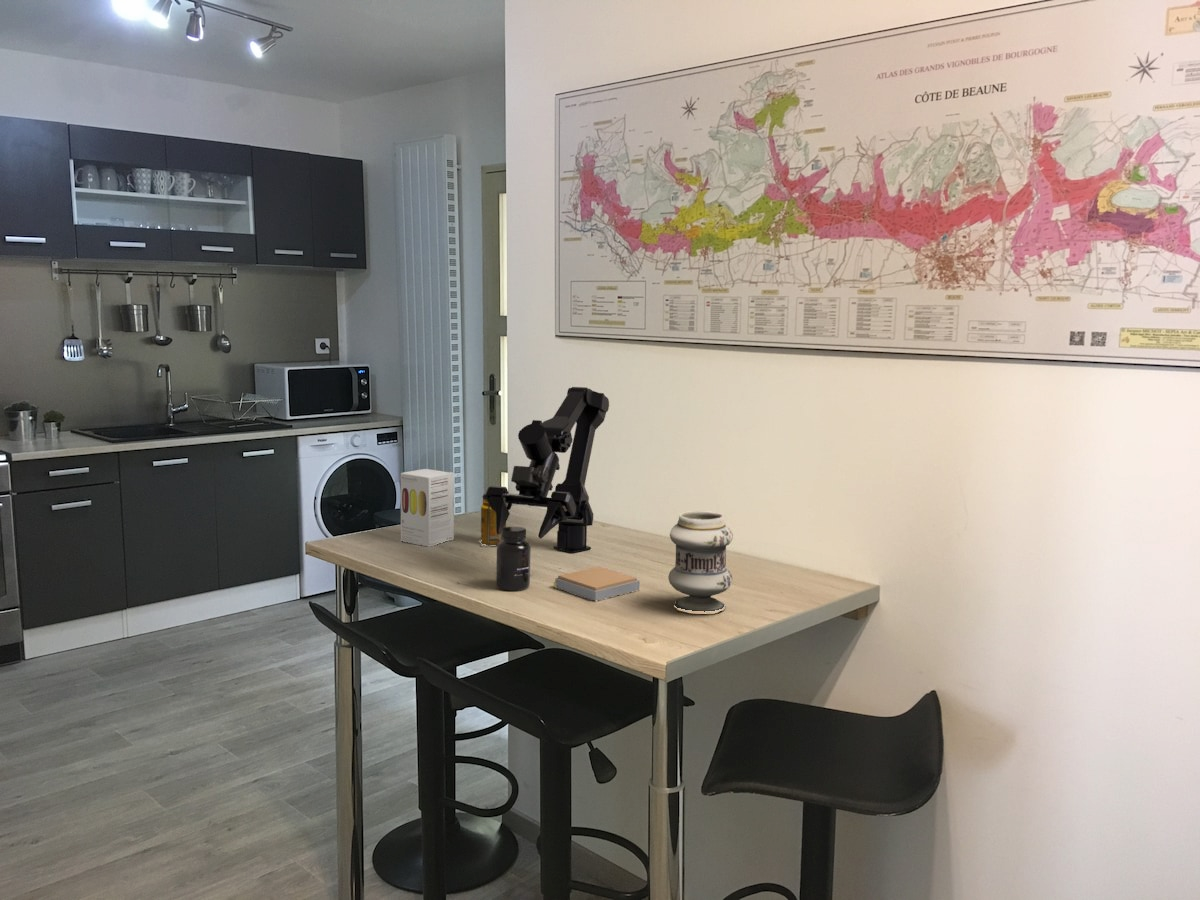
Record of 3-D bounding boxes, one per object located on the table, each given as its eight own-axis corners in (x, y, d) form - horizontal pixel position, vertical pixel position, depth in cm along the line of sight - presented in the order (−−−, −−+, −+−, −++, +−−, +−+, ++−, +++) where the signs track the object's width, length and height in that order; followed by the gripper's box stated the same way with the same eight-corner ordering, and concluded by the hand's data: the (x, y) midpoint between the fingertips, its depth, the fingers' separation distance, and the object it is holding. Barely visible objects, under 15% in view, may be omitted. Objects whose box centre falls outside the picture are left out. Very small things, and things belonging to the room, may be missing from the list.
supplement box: (399, 541, 225) (398, 472, 222) (425, 534, 232) (425, 467, 230) (429, 547, 220) (429, 476, 217) (455, 540, 227) (455, 471, 225)
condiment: (477, 540, 228) (477, 491, 226) (512, 538, 230) (512, 490, 228) (481, 547, 221) (482, 497, 219) (517, 545, 223) (517, 496, 221)
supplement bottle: (524, 592, 185) (525, 533, 183) (491, 590, 186) (492, 531, 184) (534, 583, 191) (534, 526, 190) (502, 581, 193) (502, 524, 191)
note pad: (597, 577, 197) (597, 565, 197) (639, 590, 188) (639, 577, 188) (553, 587, 189) (553, 575, 188) (595, 601, 180) (595, 588, 179)
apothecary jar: (668, 596, 184) (671, 506, 182) (729, 599, 183) (733, 509, 181) (666, 615, 172) (669, 519, 170) (732, 618, 171) (736, 522, 169)
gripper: (489, 447, 196) (464, 508, 187) (572, 453, 190) (551, 516, 181) (504, 479, 204) (481, 539, 195) (584, 486, 198) (565, 548, 189)
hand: (518, 535), depth 190 cm, fingers open, 9 cm apart
